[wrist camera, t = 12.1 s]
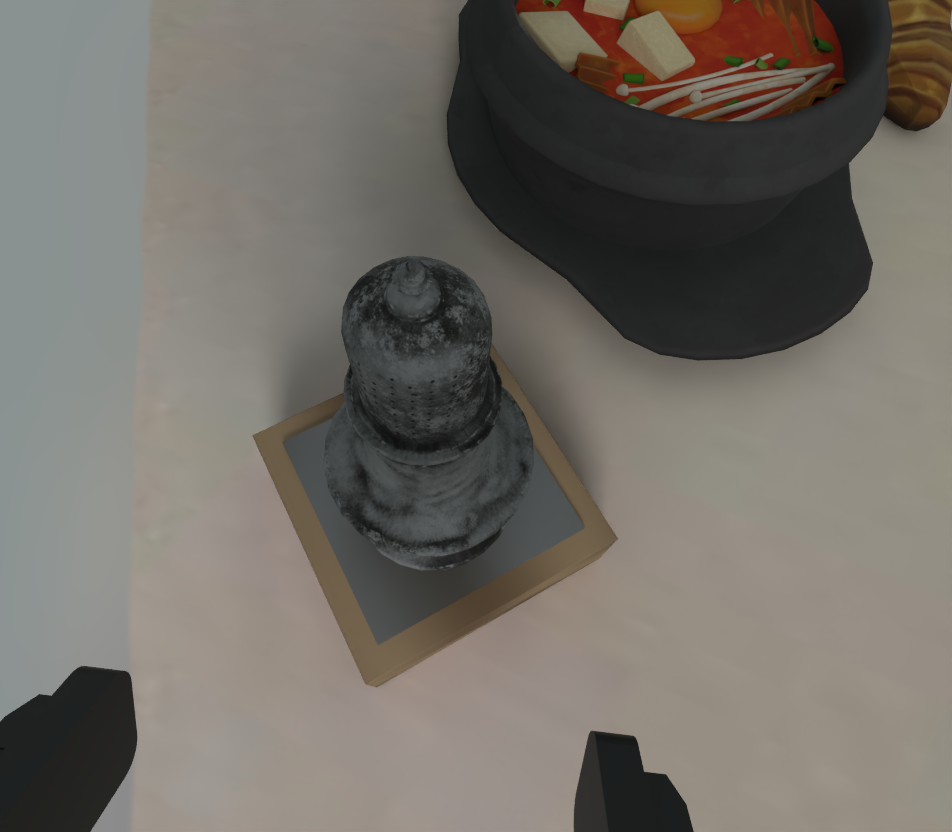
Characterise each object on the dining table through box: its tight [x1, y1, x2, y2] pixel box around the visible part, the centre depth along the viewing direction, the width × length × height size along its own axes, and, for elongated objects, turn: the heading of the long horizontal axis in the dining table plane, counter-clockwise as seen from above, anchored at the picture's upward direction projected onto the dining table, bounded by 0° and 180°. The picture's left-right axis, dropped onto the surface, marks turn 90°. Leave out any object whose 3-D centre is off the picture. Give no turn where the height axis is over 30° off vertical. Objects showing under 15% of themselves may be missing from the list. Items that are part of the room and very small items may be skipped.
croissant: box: [883, 0, 952, 131], centre depth 34 cm, size 14×7×5 cm, turn 10°
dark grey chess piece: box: [323, 256, 534, 570], centre depth 16 cm, size 6×6×12 cm
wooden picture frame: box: [252, 343, 618, 687], centre depth 23 cm, size 9×9×3 cm
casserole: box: [447, 0, 893, 360], centre depth 28 cm, size 25×19×8 cm
